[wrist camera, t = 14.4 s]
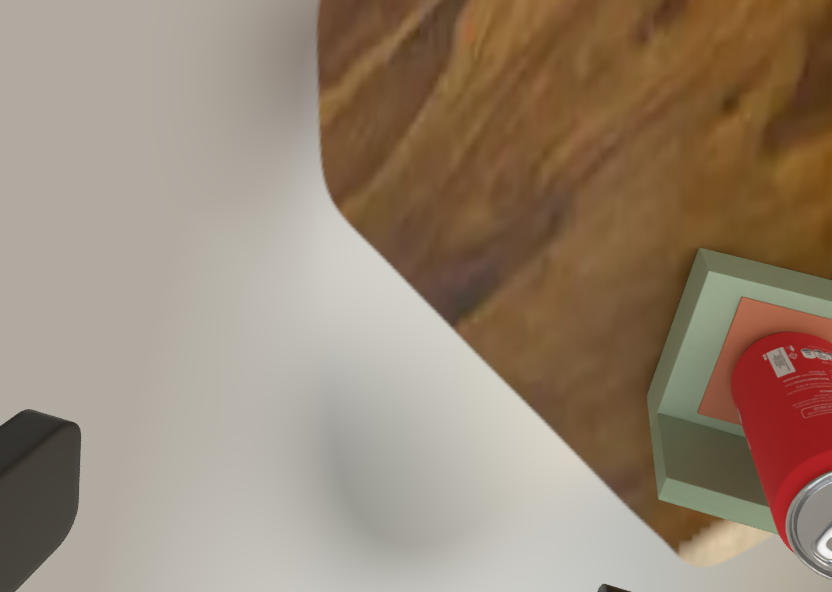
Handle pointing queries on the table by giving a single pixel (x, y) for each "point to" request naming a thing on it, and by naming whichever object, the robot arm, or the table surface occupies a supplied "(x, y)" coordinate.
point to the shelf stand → (722, 380)
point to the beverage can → (791, 436)
